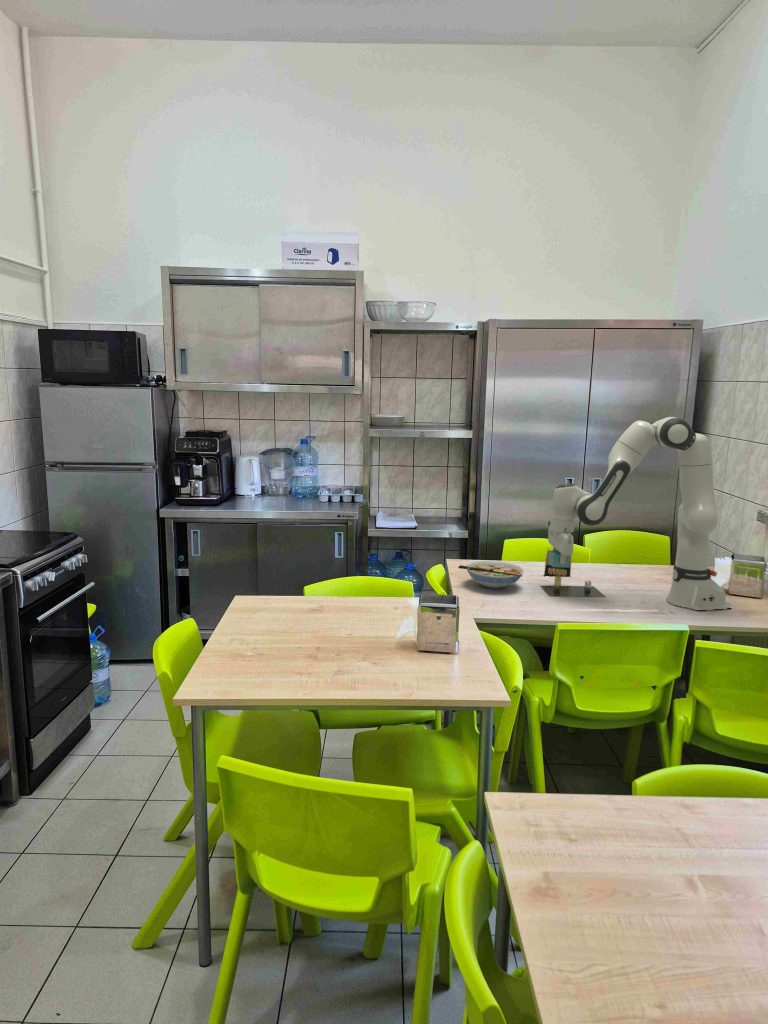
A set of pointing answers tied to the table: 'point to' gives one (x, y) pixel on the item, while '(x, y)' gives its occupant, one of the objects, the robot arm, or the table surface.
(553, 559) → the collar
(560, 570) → the ammunition clip
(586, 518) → the robot arm
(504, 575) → the ramen bowl
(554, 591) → the plate
